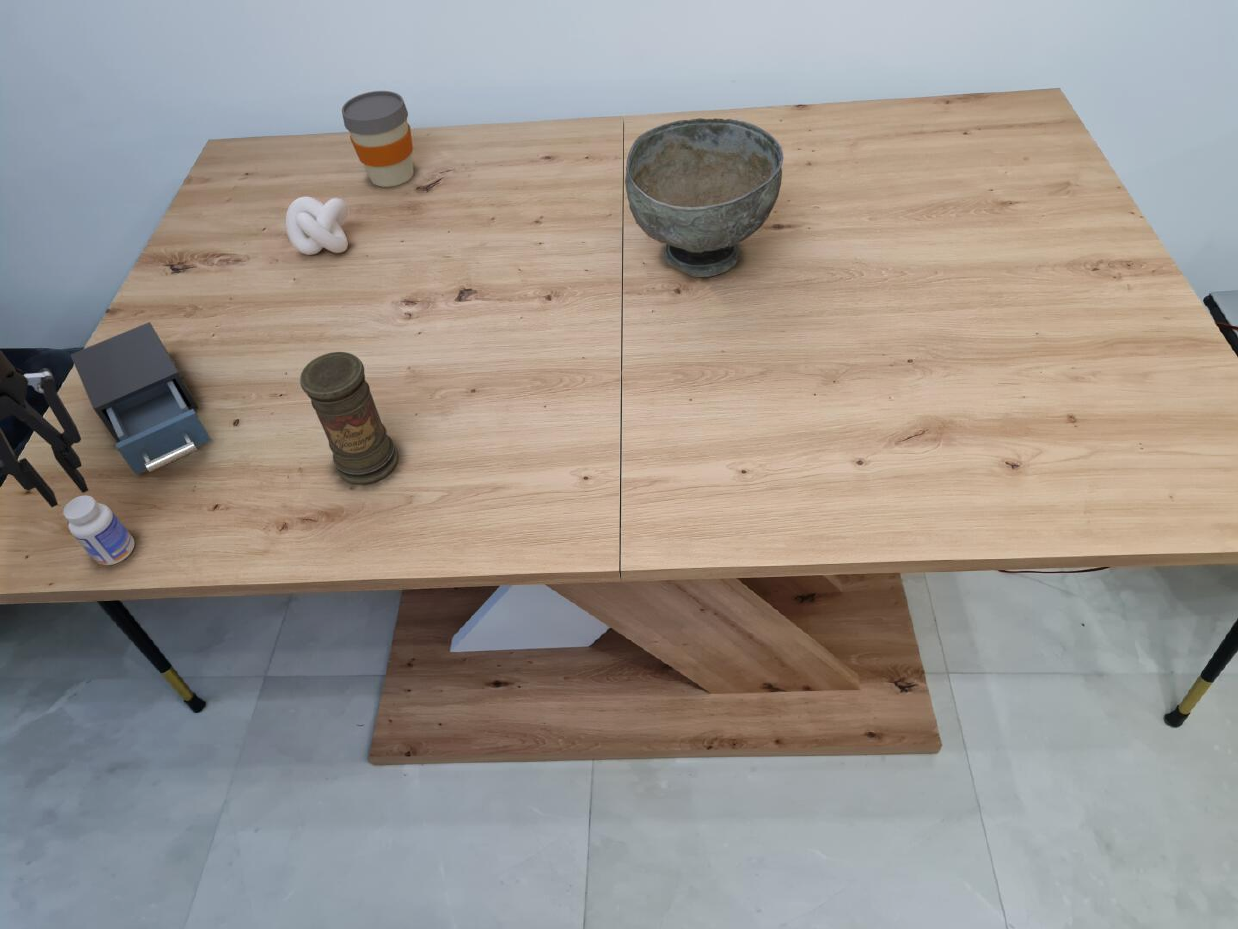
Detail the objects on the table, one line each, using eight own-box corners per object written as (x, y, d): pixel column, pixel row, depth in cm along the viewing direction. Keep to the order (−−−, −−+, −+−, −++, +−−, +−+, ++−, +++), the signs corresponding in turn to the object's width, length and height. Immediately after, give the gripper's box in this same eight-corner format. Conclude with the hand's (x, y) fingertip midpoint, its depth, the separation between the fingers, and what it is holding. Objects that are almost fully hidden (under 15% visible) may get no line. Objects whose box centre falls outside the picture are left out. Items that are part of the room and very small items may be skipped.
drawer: (221, 458, 133) (205, 431, 129) (144, 494, 130) (125, 468, 125) (183, 388, 145) (167, 361, 140) (111, 420, 141) (92, 393, 136)
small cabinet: (198, 407, 143) (177, 372, 137) (118, 444, 138) (93, 408, 133) (170, 356, 152) (149, 321, 146) (94, 389, 147) (70, 354, 142)
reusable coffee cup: (372, 198, 181) (351, 127, 170) (354, 171, 189) (332, 102, 177) (431, 178, 184) (413, 108, 173) (410, 152, 192) (392, 84, 181)
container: (331, 453, 134) (290, 362, 120) (389, 432, 136) (355, 341, 123) (344, 494, 128) (303, 404, 115) (405, 472, 130) (371, 380, 117)
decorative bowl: (721, 195, 172) (721, 96, 157) (809, 261, 157) (819, 158, 142) (604, 250, 164) (592, 151, 149) (686, 324, 150) (682, 223, 134)
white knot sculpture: (366, 253, 168) (352, 211, 161) (302, 273, 165) (286, 231, 158) (351, 224, 175) (337, 182, 168) (290, 242, 172) (274, 201, 166)
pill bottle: (136, 530, 126) (102, 485, 119) (134, 560, 123) (99, 515, 116) (96, 541, 125) (59, 497, 118) (93, 571, 122) (55, 527, 115)
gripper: (-124, 405, 93) (7, 542, 110) (39, 339, 98) (139, 480, 116) (-131, 366, 97) (-4, 504, 114) (26, 306, 102) (124, 446, 120)
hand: (67, 492), depth 115 cm, fingers open, 3 cm apart
